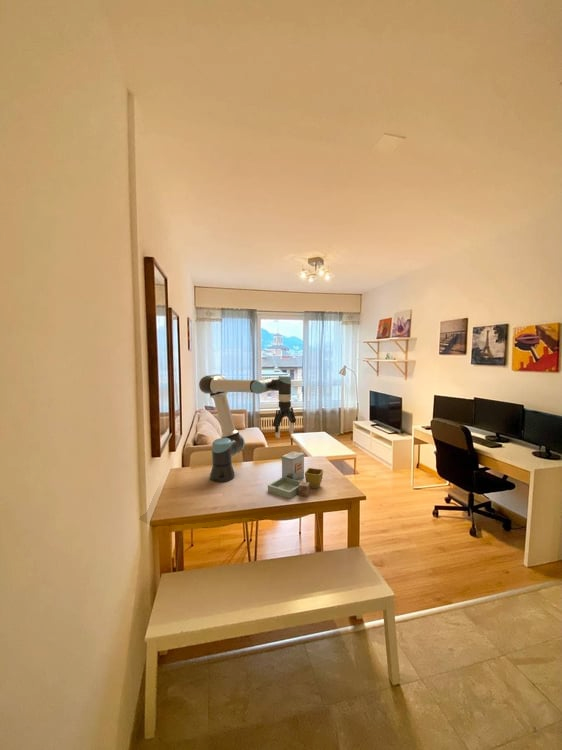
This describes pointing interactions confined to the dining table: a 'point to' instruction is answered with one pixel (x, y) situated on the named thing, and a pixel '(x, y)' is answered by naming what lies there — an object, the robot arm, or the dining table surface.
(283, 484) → the tray
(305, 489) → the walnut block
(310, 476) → the flower pot
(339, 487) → the dining table surface
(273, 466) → the dining table surface
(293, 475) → the box
